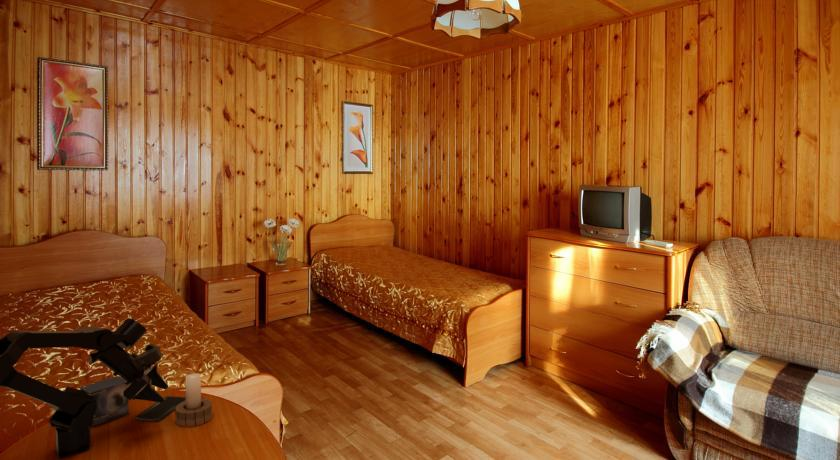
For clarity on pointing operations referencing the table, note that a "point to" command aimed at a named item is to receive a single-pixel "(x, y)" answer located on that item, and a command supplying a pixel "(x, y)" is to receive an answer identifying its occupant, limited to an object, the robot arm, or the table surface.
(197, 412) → the segmented block ring
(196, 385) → the tapered rounded pillar
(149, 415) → the phone
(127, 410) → the small box
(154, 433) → the table surface
